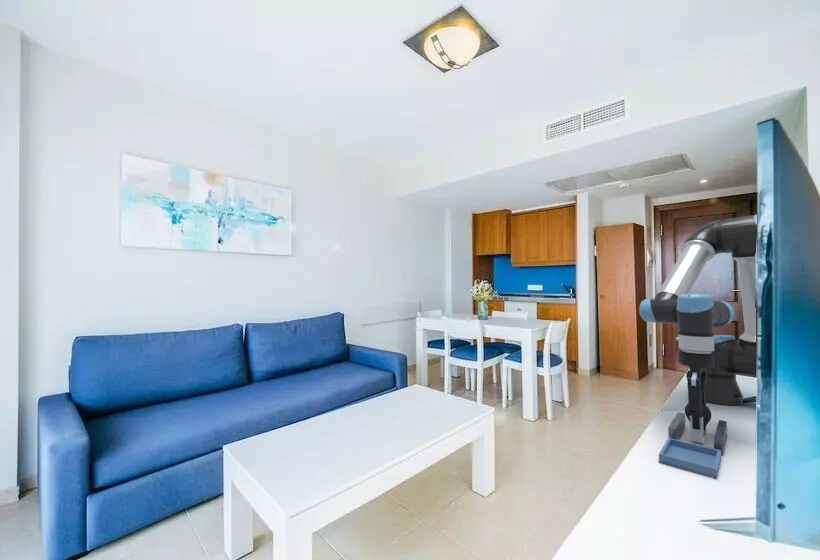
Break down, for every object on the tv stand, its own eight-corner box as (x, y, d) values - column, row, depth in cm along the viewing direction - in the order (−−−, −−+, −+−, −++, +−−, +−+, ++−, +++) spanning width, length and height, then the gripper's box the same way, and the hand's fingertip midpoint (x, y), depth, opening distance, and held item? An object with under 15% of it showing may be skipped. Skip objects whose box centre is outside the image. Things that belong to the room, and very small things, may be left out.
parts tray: (668, 445, 90) (668, 437, 90) (721, 458, 83) (720, 450, 83) (659, 462, 81) (658, 453, 81) (716, 479, 74) (716, 469, 74)
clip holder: (678, 425, 103) (678, 411, 103) (727, 436, 95) (726, 421, 95) (668, 442, 91) (668, 427, 92) (723, 456, 84) (722, 439, 84)
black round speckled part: (713, 445, 89) (712, 407, 90) (685, 440, 93) (684, 402, 93) (711, 438, 94) (710, 401, 94) (685, 433, 97) (683, 397, 97)
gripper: (683, 345, 103) (685, 423, 102) (672, 353, 90) (675, 443, 89) (717, 348, 98) (719, 430, 97) (710, 357, 85) (713, 453, 84)
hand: (698, 436), depth 93 cm, fingers closed on black round speckled part, 6 cm apart
